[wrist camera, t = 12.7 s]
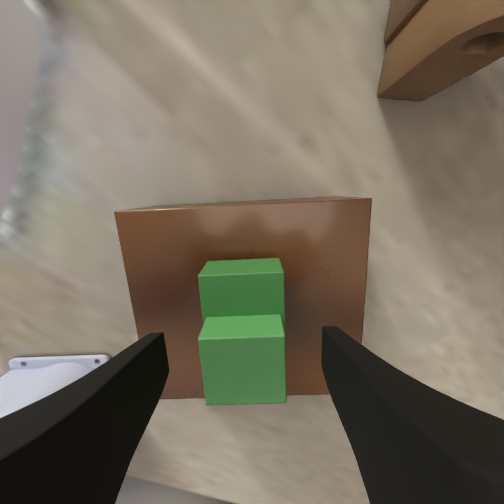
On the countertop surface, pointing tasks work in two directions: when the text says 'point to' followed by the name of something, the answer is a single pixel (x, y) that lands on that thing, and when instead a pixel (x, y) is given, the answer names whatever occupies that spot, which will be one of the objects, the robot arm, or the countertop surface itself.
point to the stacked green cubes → (243, 332)
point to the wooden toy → (438, 44)
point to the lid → (248, 247)
